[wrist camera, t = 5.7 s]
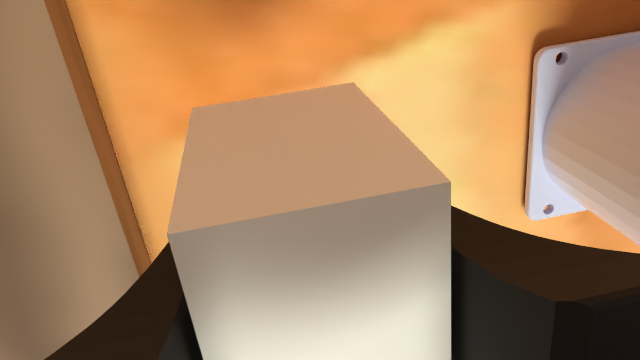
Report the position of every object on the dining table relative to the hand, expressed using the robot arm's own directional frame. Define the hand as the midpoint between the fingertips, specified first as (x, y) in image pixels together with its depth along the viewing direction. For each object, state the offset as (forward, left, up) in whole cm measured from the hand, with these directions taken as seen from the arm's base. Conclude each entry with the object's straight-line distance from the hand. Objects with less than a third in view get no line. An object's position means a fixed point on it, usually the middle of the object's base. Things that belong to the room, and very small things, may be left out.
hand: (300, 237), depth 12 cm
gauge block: (0, 0, -2) cm, 2 cm away
